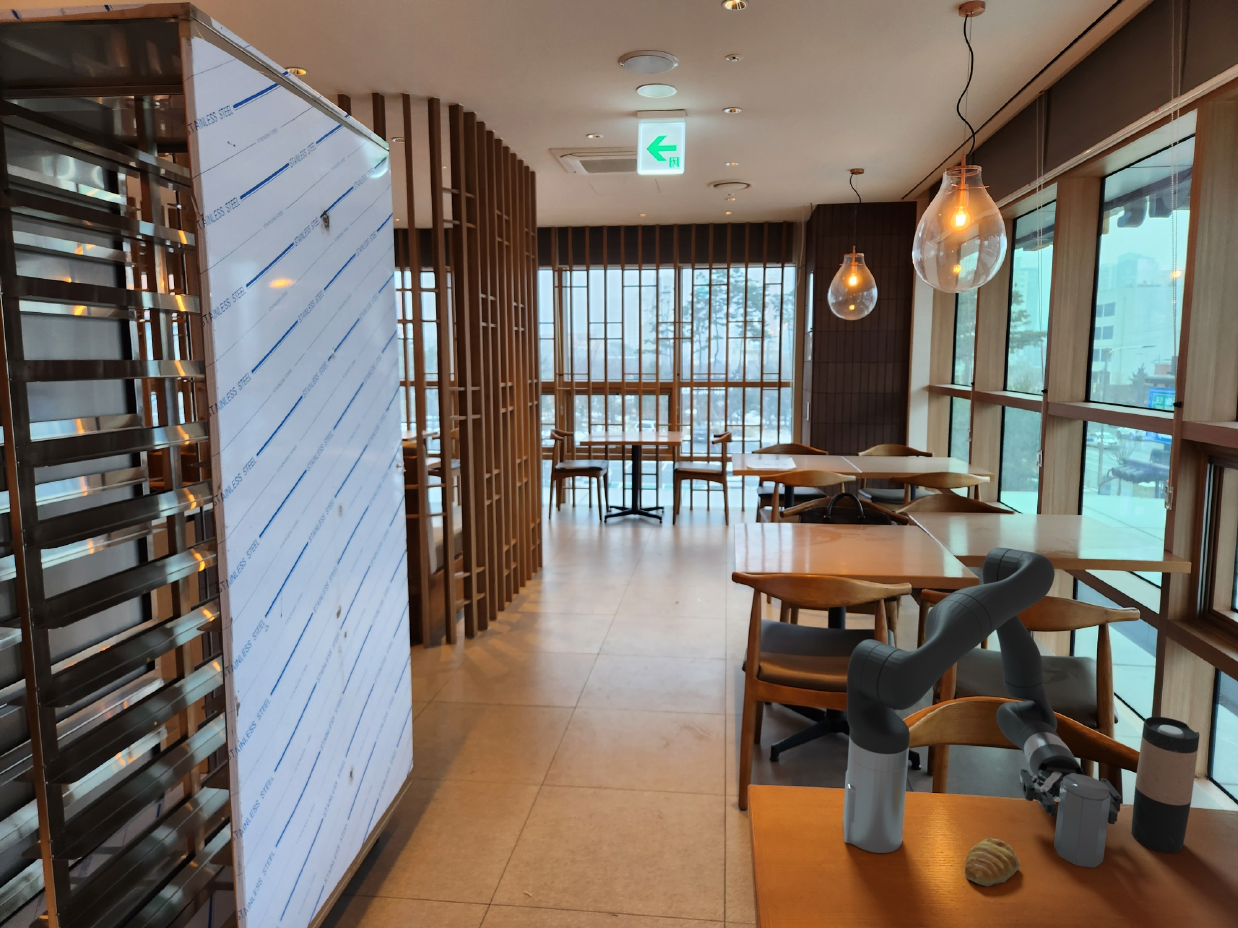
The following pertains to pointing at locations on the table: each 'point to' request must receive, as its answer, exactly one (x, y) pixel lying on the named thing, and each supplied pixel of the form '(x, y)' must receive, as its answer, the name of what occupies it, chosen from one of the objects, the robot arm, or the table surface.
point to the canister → (1082, 820)
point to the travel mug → (1164, 784)
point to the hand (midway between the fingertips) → (1083, 815)
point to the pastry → (991, 862)
